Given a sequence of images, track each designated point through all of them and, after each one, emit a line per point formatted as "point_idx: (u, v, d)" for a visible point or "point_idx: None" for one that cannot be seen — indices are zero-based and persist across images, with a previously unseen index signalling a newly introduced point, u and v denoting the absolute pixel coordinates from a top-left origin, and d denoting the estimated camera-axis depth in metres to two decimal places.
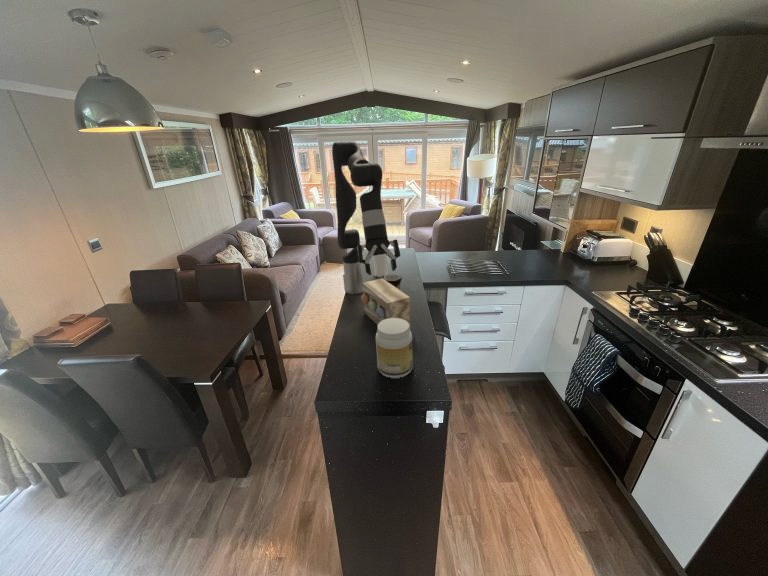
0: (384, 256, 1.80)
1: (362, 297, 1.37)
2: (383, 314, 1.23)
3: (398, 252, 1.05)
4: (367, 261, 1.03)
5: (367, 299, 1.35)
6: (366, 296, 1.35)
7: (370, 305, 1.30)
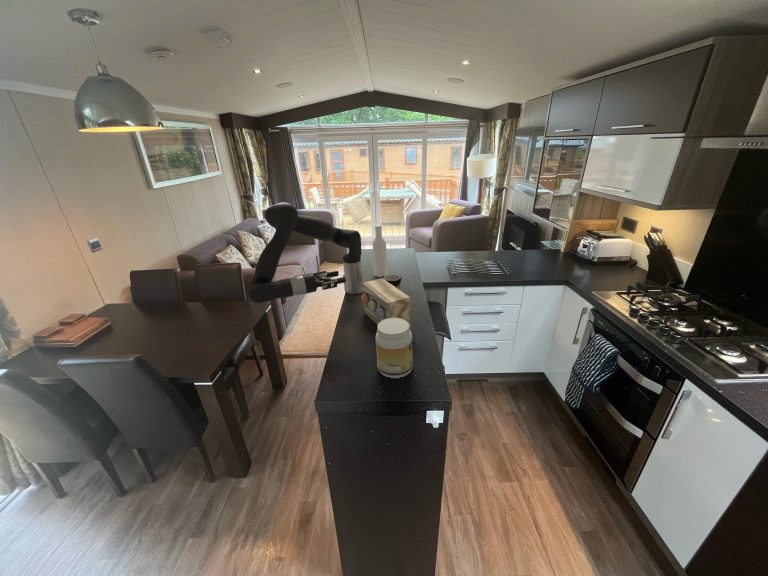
0: (384, 256, 1.80)
1: (362, 297, 1.37)
2: (383, 314, 1.23)
3: None
4: None
5: (367, 299, 1.35)
6: (366, 296, 1.35)
7: (370, 305, 1.30)
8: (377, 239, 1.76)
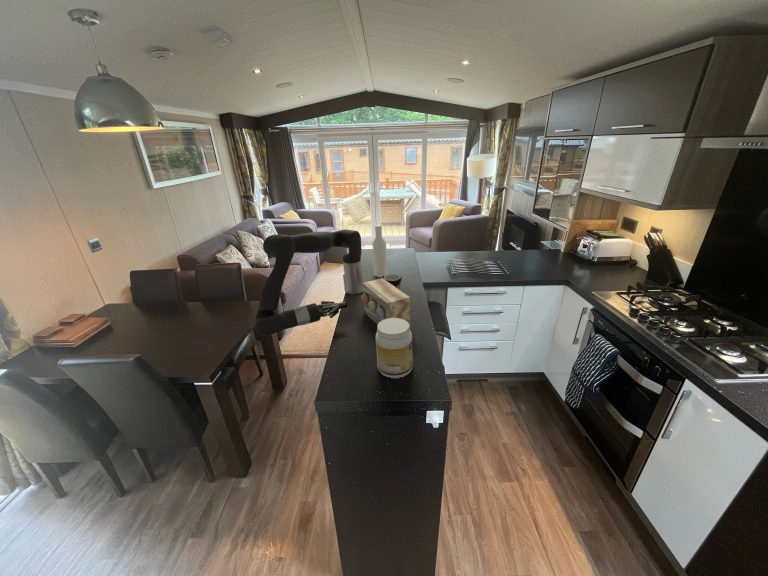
0: (384, 256, 1.80)
1: (362, 297, 1.37)
2: (383, 314, 1.23)
3: None
4: None
5: (367, 299, 1.35)
6: (366, 296, 1.35)
7: (370, 305, 1.30)
8: (377, 239, 1.76)
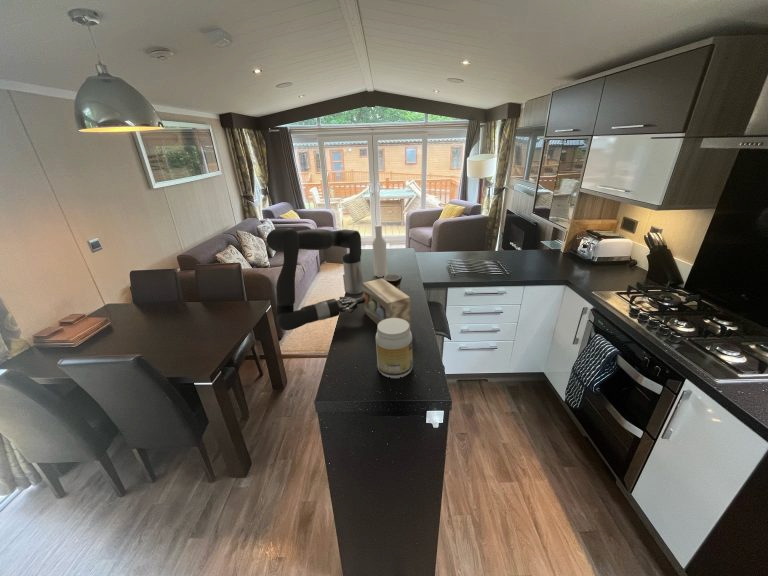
0: (384, 256, 1.80)
1: (363, 297, 1.37)
2: (383, 314, 1.23)
3: None
4: None
5: (368, 299, 1.35)
6: (367, 296, 1.35)
7: (370, 305, 1.30)
8: (377, 239, 1.76)
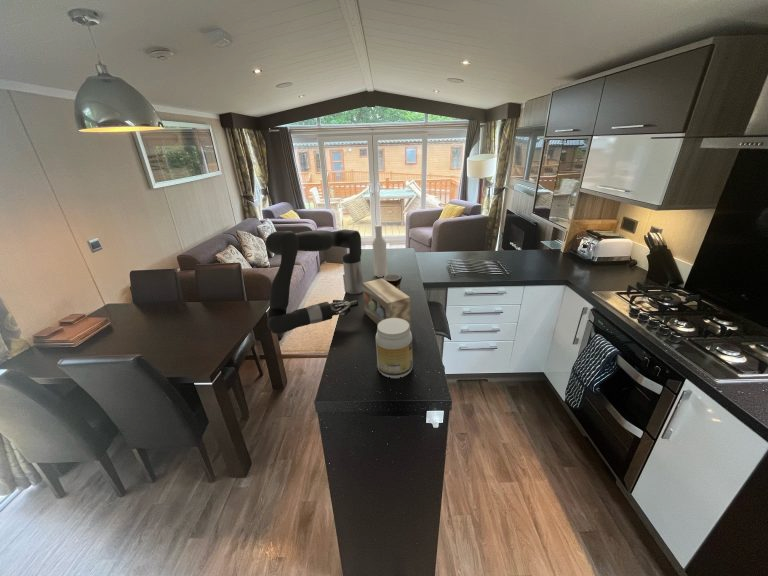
0: (384, 256, 1.80)
1: (364, 296, 1.37)
2: (383, 314, 1.23)
3: None
4: None
5: (369, 298, 1.35)
6: (368, 295, 1.36)
7: (370, 305, 1.30)
8: (377, 239, 1.76)
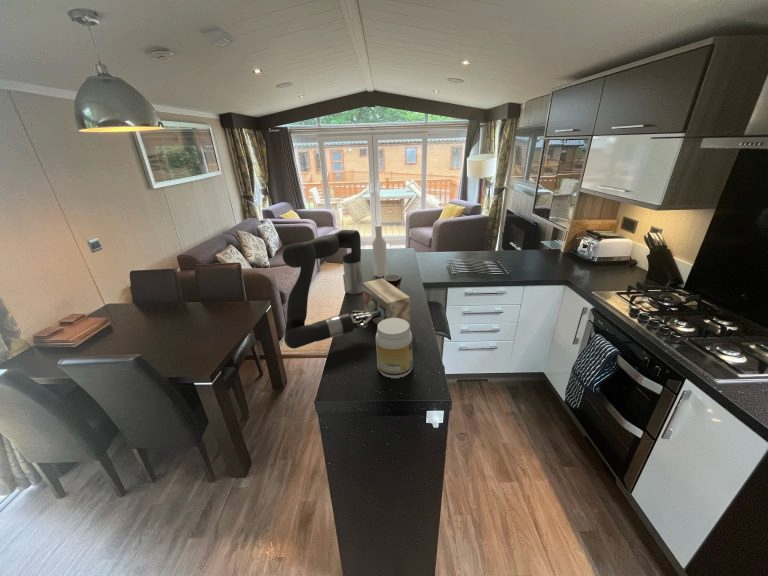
0: (384, 256, 1.80)
1: (364, 296, 1.37)
2: (384, 314, 1.23)
3: None
4: None
5: (369, 298, 1.35)
6: (368, 295, 1.36)
7: (370, 305, 1.30)
8: (377, 239, 1.76)
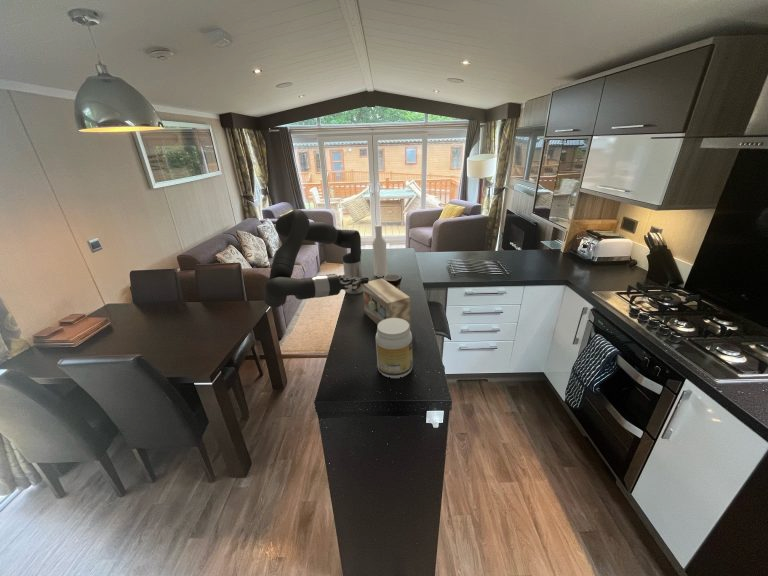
0: (384, 256, 1.80)
1: (364, 296, 1.37)
2: (385, 313, 1.23)
3: None
4: None
5: (369, 298, 1.35)
6: (368, 295, 1.36)
7: (370, 305, 1.30)
8: (377, 239, 1.76)
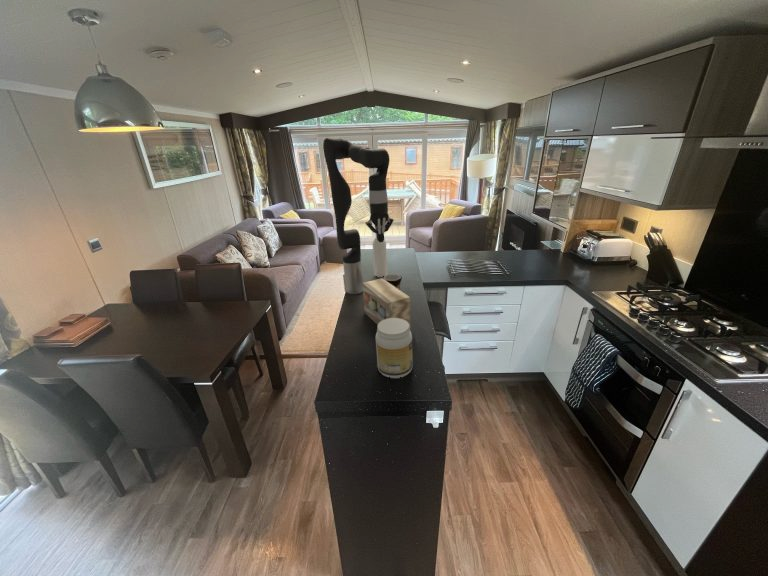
0: (384, 256, 1.80)
1: (364, 296, 1.37)
2: (385, 313, 1.23)
3: (387, 228, 1.34)
4: (379, 232, 1.33)
5: (369, 298, 1.35)
6: (368, 295, 1.36)
7: (370, 305, 1.30)
8: None
